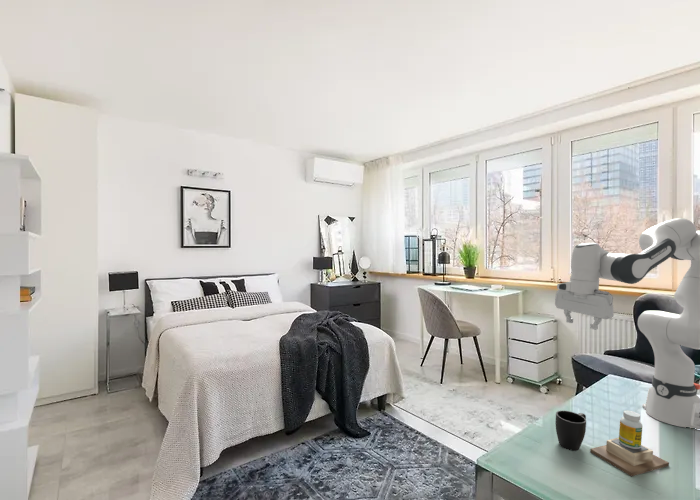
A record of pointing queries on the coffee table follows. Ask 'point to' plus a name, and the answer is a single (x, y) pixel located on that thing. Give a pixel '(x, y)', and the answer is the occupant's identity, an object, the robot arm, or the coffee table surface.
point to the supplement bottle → (630, 430)
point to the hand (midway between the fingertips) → (581, 325)
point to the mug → (570, 429)
